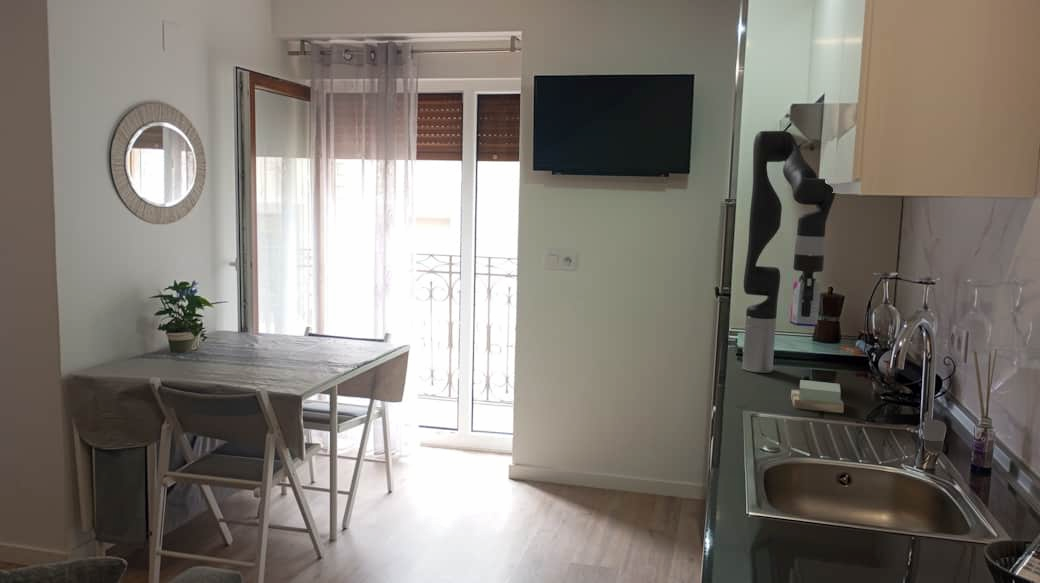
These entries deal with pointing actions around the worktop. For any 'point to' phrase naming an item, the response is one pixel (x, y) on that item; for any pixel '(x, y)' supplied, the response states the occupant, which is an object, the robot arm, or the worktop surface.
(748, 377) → the worktop surface
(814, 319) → the supplement box
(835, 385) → the sage slab
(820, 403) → the birch slab
